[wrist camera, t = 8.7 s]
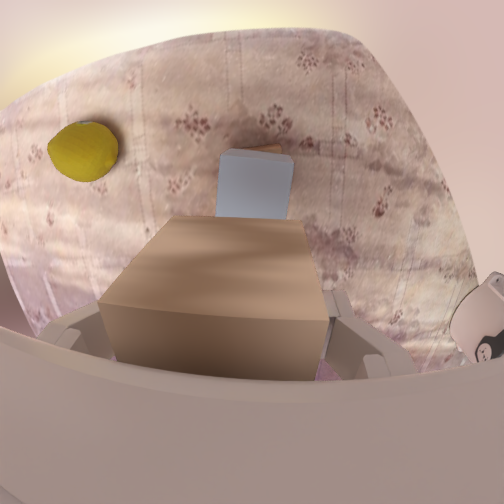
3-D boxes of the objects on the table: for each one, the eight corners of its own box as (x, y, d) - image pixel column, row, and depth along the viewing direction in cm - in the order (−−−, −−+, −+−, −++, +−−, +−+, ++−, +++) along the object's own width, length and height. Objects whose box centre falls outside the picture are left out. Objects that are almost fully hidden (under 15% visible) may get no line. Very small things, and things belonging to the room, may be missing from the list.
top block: (289, 155, 28) (294, 163, 22) (281, 211, 30) (283, 232, 25) (230, 148, 28) (220, 154, 22) (224, 204, 30) (214, 223, 25)
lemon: (139, 134, 33) (108, 139, 26) (119, 186, 36) (88, 202, 29) (81, 108, 31) (45, 111, 24) (65, 157, 34) (30, 168, 27)
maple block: (301, 220, 11) (329, 320, 5) (290, 323, 13) (296, 437, 8) (173, 215, 11) (96, 302, 6) (184, 316, 13) (144, 421, 8)
